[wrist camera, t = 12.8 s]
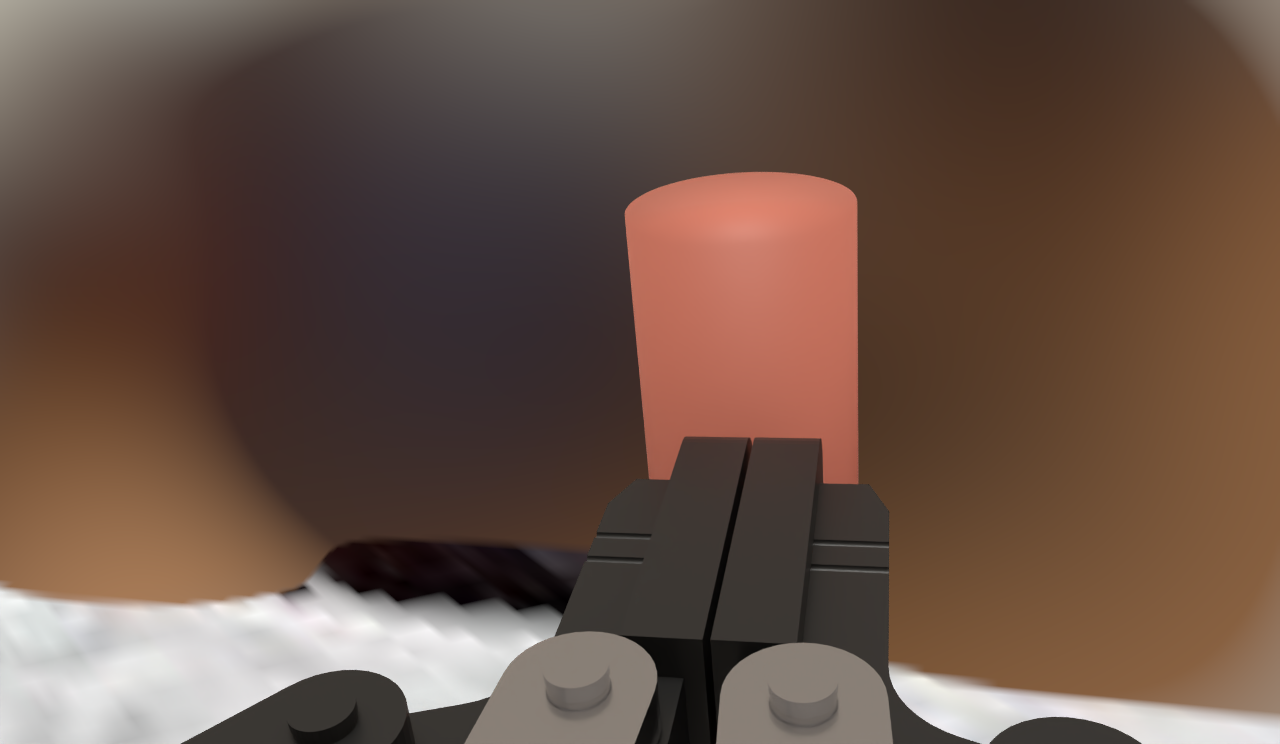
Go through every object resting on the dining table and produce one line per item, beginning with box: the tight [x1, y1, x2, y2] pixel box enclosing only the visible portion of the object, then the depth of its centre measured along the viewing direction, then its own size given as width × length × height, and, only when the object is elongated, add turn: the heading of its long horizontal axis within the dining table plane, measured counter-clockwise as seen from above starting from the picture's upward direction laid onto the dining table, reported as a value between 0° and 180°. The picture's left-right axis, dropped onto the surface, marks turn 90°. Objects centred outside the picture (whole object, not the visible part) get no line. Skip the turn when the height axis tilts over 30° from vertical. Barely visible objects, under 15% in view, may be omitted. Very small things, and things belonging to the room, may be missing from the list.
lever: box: [625, 172, 858, 484], centre depth 15 cm, size 4×16×10 cm, turn 104°
